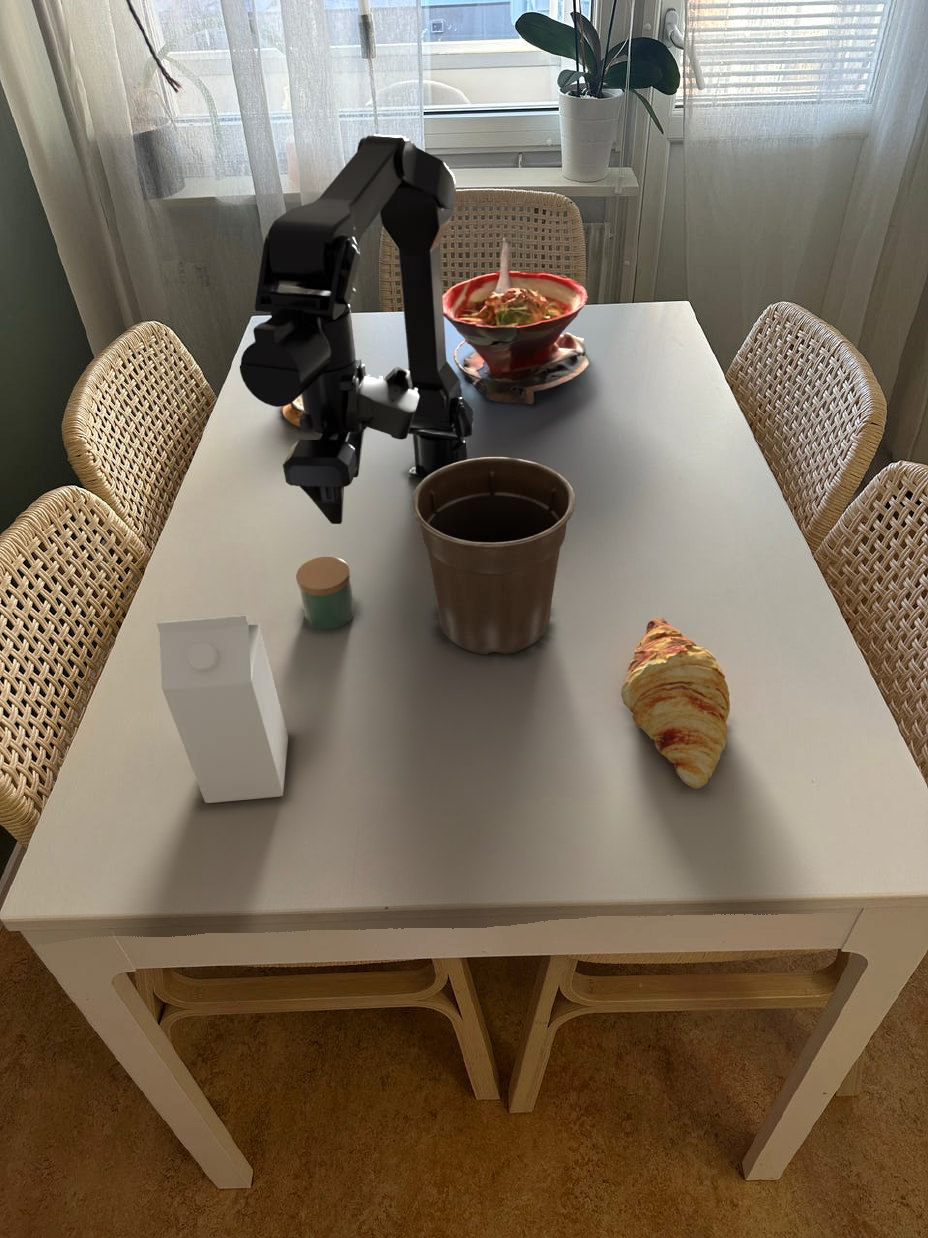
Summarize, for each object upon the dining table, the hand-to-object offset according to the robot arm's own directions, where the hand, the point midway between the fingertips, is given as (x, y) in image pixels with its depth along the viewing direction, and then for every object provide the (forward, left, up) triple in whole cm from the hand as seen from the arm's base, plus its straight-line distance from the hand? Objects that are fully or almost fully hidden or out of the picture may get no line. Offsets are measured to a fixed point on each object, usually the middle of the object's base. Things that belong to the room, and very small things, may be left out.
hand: (345, 499), depth 93 cm
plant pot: (+16, +3, -13) cm, 21 cm away
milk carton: (+6, -27, -13) cm, 30 cm away
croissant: (+38, -1, -13) cm, 40 cm away
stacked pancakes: (-31, +35, -13) cm, 49 cm away
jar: (-1, -5, -13) cm, 14 cm away
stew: (-12, +61, -13) cm, 64 cm away
